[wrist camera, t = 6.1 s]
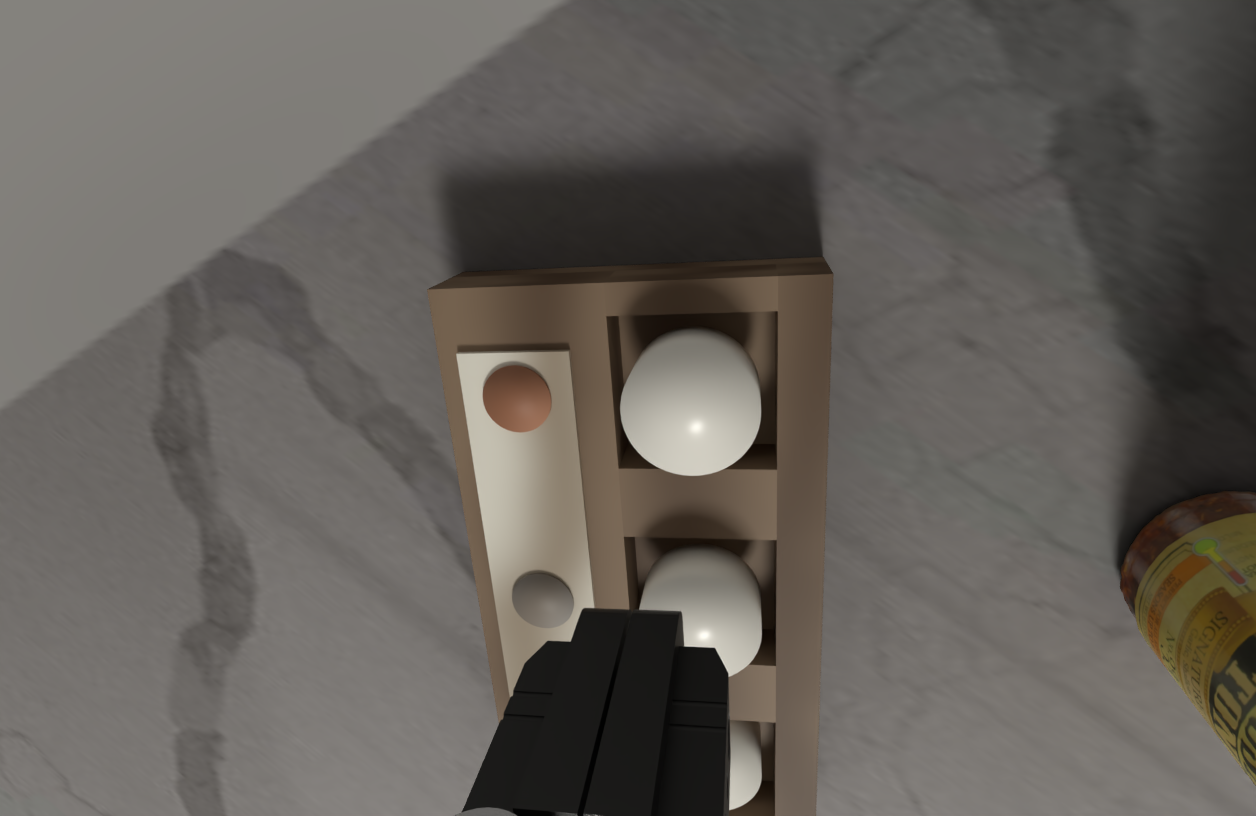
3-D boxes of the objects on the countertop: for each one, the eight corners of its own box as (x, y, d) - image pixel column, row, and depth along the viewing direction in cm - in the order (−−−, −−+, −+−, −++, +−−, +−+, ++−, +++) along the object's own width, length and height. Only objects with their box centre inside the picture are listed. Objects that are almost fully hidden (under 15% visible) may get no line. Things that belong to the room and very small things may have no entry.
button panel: (822, 256, 23) (834, 276, 20) (808, 782, 30) (815, 855, 27) (463, 272, 25) (422, 291, 22) (535, 761, 32) (512, 826, 29)
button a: (760, 694, 28) (761, 734, 26) (761, 773, 29) (761, 816, 27) (657, 688, 28) (651, 726, 27) (663, 765, 30) (657, 806, 28)
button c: (760, 324, 21) (761, 342, 19) (760, 448, 23) (761, 476, 21) (626, 327, 22) (615, 345, 20) (634, 448, 23) (624, 475, 21)
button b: (760, 545, 24) (761, 579, 22) (760, 644, 25) (761, 684, 23) (641, 542, 24) (632, 575, 23) (648, 638, 26) (640, 677, 24)
